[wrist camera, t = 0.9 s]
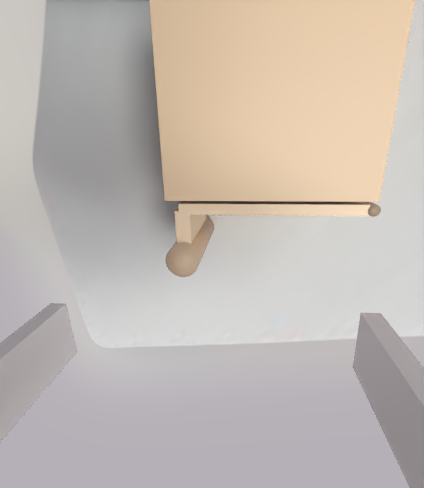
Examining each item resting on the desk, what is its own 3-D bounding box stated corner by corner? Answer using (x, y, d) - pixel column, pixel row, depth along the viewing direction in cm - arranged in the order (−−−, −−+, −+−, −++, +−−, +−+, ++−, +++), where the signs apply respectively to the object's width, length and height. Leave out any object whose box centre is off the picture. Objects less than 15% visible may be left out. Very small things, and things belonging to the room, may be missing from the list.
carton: (191, 52, 27) (148, -15, 16) (345, 42, 25) (422, -42, 14) (196, 180, 31) (164, 200, 20) (329, 179, 29) (379, 201, 18)
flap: (189, 185, 30) (160, 203, 21) (338, 184, 28) (381, 204, 19) (191, 237, 32) (166, 276, 23) (330, 240, 30) (367, 284, 21)
